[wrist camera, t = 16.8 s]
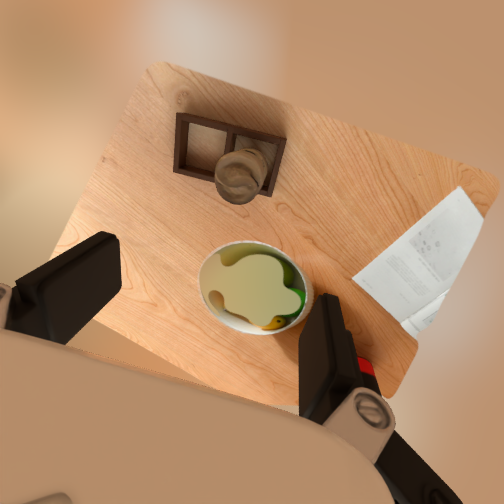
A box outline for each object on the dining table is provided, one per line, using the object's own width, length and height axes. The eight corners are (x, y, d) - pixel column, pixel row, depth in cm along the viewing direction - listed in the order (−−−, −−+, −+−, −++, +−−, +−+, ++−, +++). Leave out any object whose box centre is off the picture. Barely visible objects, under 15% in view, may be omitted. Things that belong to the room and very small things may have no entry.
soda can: (331, 360, 57) (340, 415, 46) (366, 352, 54) (383, 408, 44) (343, 380, 60) (354, 437, 49) (376, 374, 57) (395, 432, 46)
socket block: (286, 138, 37) (286, 140, 34) (272, 192, 41) (271, 197, 38) (184, 112, 37) (176, 112, 34) (180, 168, 41) (172, 172, 38)
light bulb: (233, 144, 38) (202, 158, 25) (269, 137, 37) (256, 149, 24) (240, 181, 41) (215, 211, 28) (274, 176, 40) (264, 206, 26)
